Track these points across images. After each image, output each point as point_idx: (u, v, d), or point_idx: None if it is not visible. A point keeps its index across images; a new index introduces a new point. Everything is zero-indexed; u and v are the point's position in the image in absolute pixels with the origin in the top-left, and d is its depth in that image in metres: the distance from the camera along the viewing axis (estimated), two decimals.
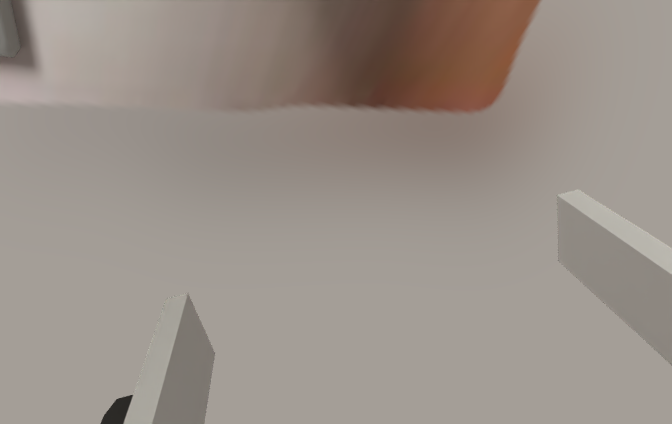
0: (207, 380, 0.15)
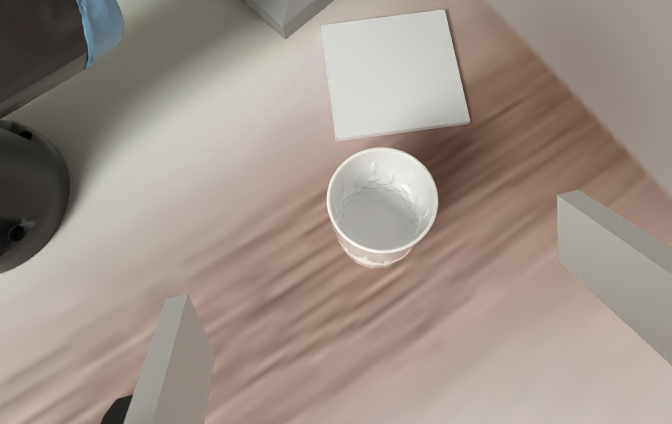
0: (207, 380, 0.15)
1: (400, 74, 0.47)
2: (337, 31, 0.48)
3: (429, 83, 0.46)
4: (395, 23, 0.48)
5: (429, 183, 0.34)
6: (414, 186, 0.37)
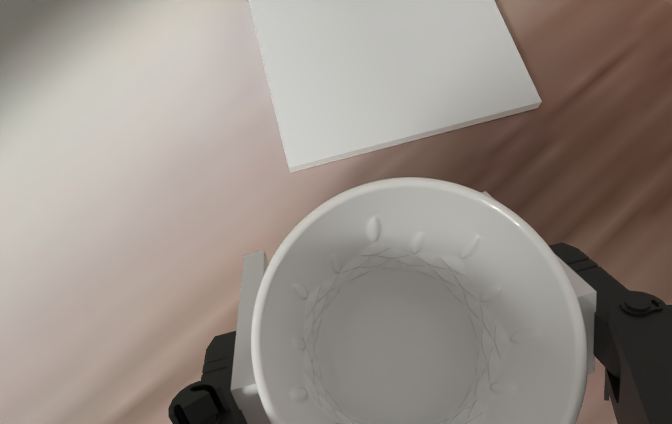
0: None
1: (395, 34, 0.25)
2: None
3: (451, 43, 0.25)
4: None
5: (543, 263, 0.12)
6: (479, 262, 0.15)
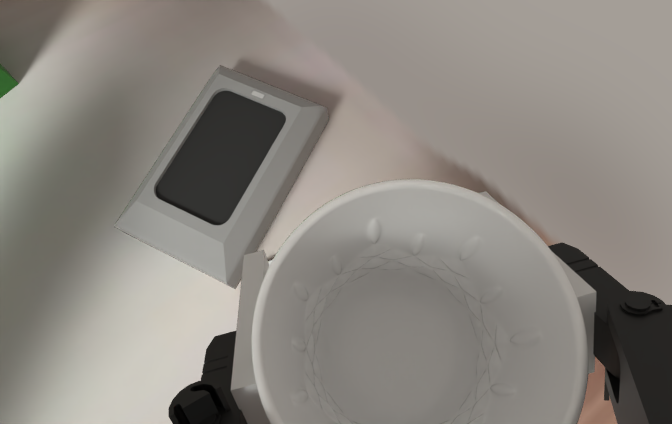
0: None
1: None
2: None
3: None
4: None
5: (543, 265, 0.12)
6: (480, 263, 0.15)
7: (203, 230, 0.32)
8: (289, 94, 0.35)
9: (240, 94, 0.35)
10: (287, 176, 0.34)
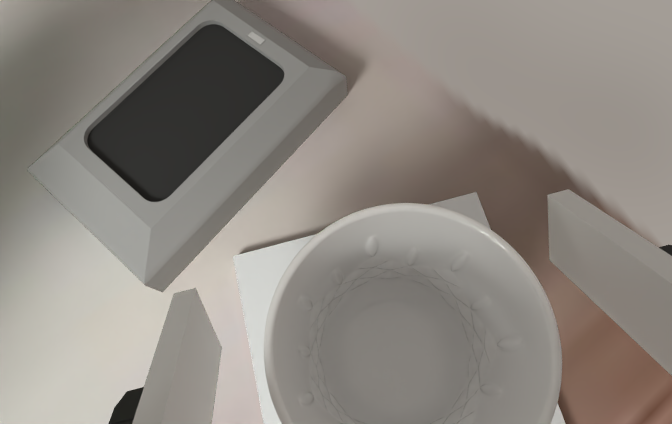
0: (215, 374, 0.15)
1: None
2: (268, 266, 0.24)
3: None
4: None
5: (523, 280, 0.13)
6: (469, 274, 0.16)
7: (131, 203, 0.22)
8: (299, 47, 0.26)
9: (234, 32, 0.25)
10: (267, 156, 0.24)
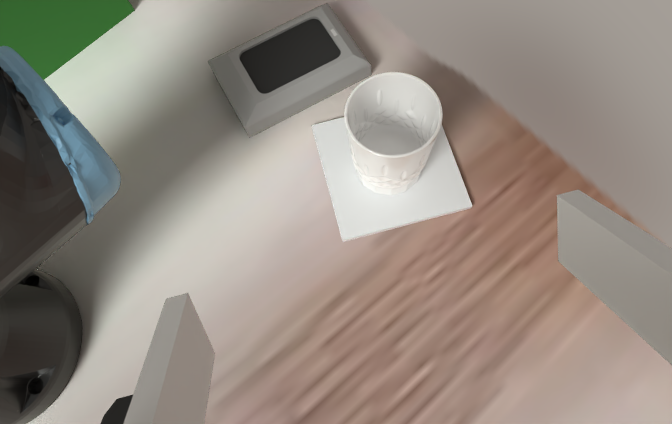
0: (207, 380, 0.15)
1: None
2: (328, 129, 0.49)
3: (426, 171, 0.47)
4: None
5: (432, 95, 0.38)
6: (418, 107, 0.41)
7: (251, 90, 0.48)
8: (353, 43, 0.50)
9: (324, 26, 0.50)
10: (318, 90, 0.49)
